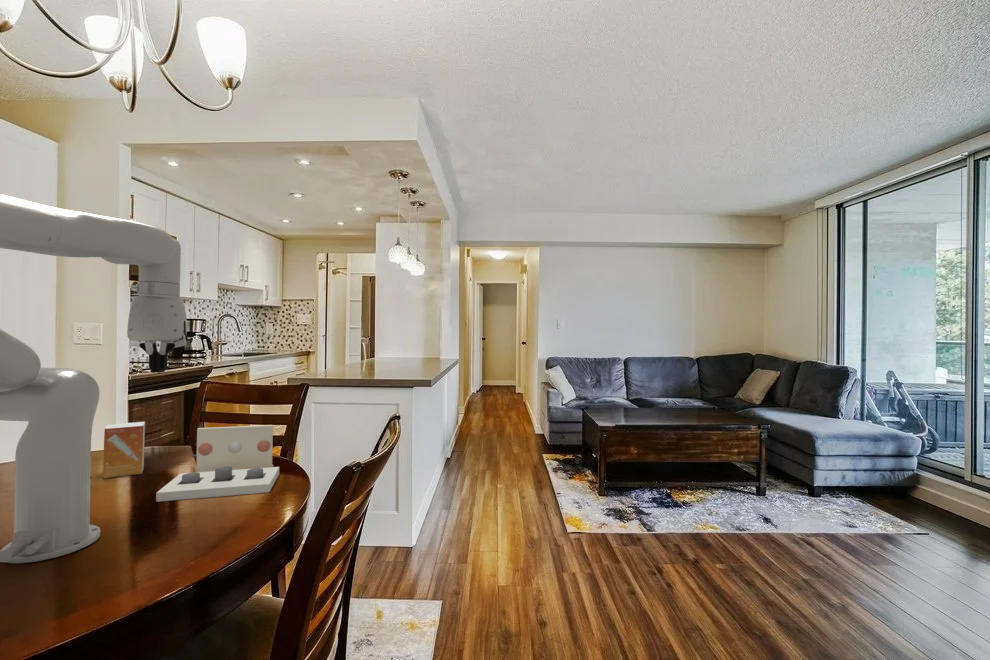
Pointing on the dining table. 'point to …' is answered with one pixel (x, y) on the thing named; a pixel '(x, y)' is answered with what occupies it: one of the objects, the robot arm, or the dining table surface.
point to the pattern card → (234, 447)
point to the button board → (218, 485)
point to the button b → (223, 474)
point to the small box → (123, 449)
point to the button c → (255, 473)
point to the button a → (191, 478)
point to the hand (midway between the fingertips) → (158, 372)
